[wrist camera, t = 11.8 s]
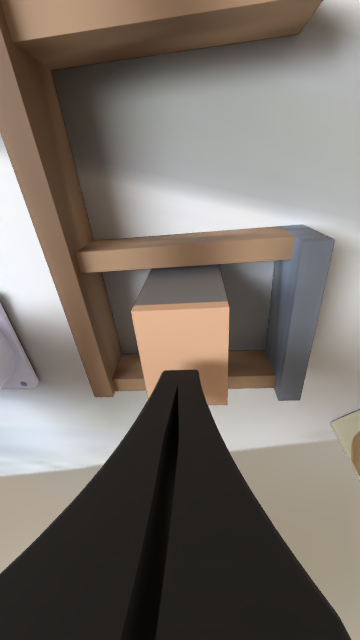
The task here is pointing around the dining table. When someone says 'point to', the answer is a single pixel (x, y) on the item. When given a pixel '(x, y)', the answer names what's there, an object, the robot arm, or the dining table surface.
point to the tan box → (184, 327)
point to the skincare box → (349, 437)
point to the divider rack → (154, 251)
